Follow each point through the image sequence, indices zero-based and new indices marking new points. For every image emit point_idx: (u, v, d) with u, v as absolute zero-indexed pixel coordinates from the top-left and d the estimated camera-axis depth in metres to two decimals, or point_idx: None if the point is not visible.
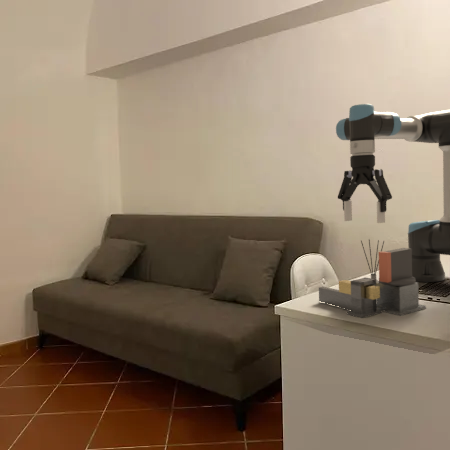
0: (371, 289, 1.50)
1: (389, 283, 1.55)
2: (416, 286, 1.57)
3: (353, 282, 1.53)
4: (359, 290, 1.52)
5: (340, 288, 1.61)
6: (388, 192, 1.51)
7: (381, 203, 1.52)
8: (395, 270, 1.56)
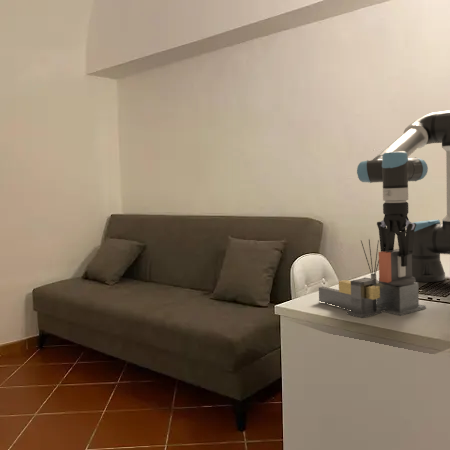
0: (371, 289, 1.50)
1: (389, 283, 1.55)
2: (416, 286, 1.57)
3: (353, 282, 1.53)
4: (359, 290, 1.52)
5: (340, 288, 1.61)
6: (411, 248, 1.53)
7: (402, 258, 1.55)
8: (395, 270, 1.56)
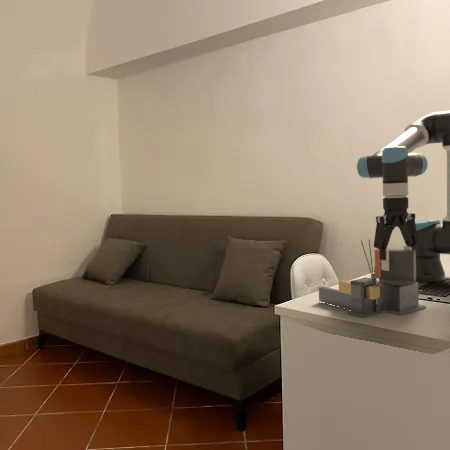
0: (371, 289, 1.50)
1: None
2: (416, 286, 1.57)
3: (353, 282, 1.53)
4: (359, 290, 1.52)
5: (340, 288, 1.61)
6: (377, 241, 1.54)
7: None
8: None
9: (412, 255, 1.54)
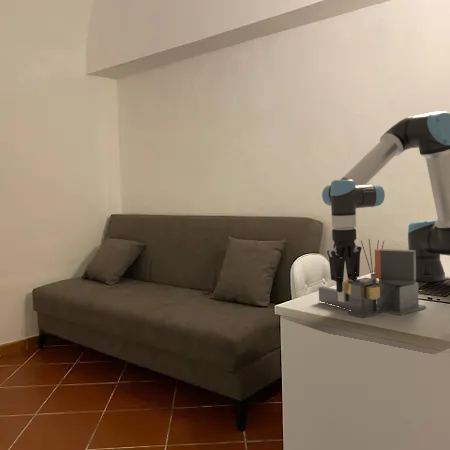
0: (371, 289, 1.50)
1: None
2: (416, 286, 1.57)
3: (353, 282, 1.53)
4: (359, 290, 1.52)
5: None
6: (334, 275, 1.58)
7: None
8: (387, 268, 1.58)
9: (412, 255, 1.54)
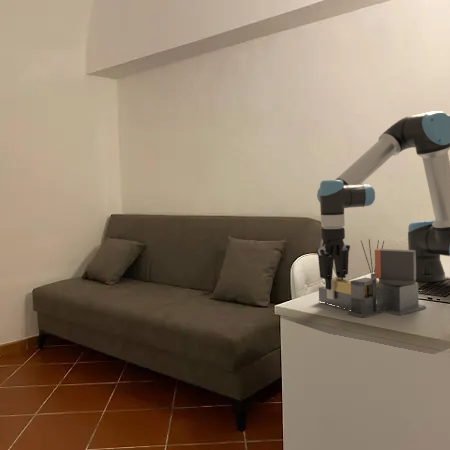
0: None
1: None
2: (416, 286, 1.57)
3: (353, 282, 1.53)
4: (359, 290, 1.52)
5: None
6: (323, 273, 1.62)
7: None
8: (387, 268, 1.58)
9: (412, 255, 1.54)
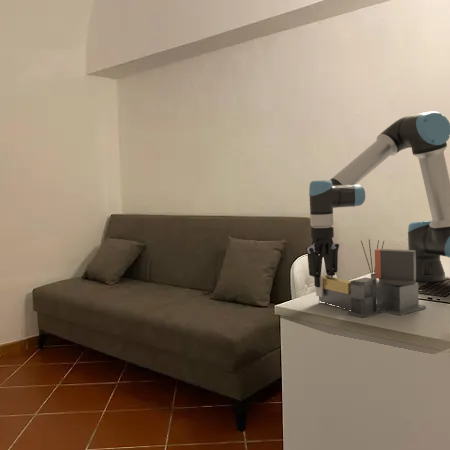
0: (346, 284, 1.59)
1: None
2: (416, 286, 1.57)
3: (353, 282, 1.53)
4: (359, 290, 1.52)
5: None
6: (312, 271, 1.66)
7: None
8: (387, 268, 1.58)
9: (412, 255, 1.54)
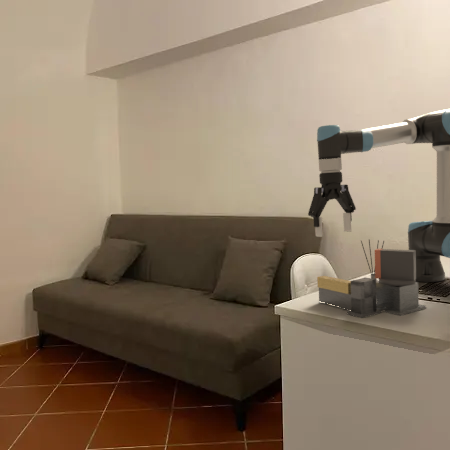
0: (346, 284, 1.59)
1: None
2: (416, 286, 1.57)
3: (353, 282, 1.53)
4: (359, 290, 1.52)
5: (318, 283, 1.70)
6: (312, 209, 1.65)
7: None
8: (387, 268, 1.58)
9: (412, 255, 1.54)
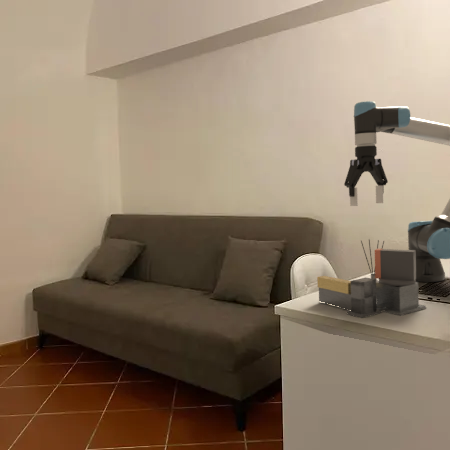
0: (346, 284, 1.59)
1: None
2: (416, 286, 1.57)
3: (353, 282, 1.53)
4: (359, 290, 1.52)
5: (318, 283, 1.70)
6: (348, 180, 1.76)
7: None
8: (387, 268, 1.58)
9: (412, 255, 1.54)
